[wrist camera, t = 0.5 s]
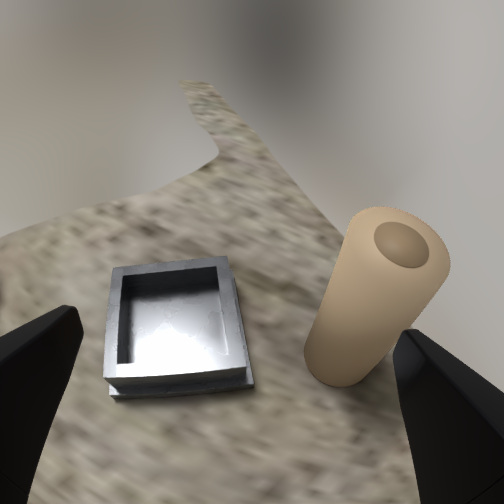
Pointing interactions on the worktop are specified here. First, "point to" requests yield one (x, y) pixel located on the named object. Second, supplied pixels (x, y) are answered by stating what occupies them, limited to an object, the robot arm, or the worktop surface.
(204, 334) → the dock
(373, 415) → the worktop surface
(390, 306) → the beige tapered cylinder
